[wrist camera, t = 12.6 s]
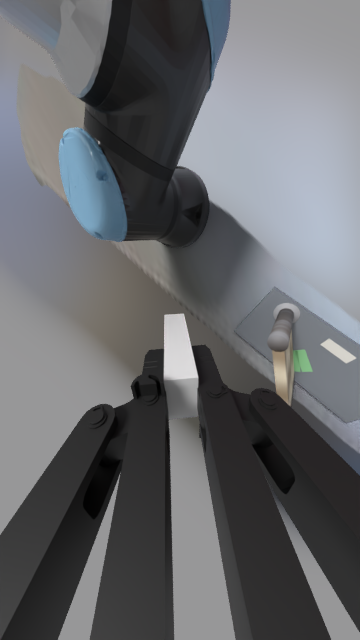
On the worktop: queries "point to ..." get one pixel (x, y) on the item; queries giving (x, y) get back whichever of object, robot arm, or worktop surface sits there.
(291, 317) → the beige upright panel
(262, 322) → the grey rectangular base plate
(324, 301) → the worktop surface
